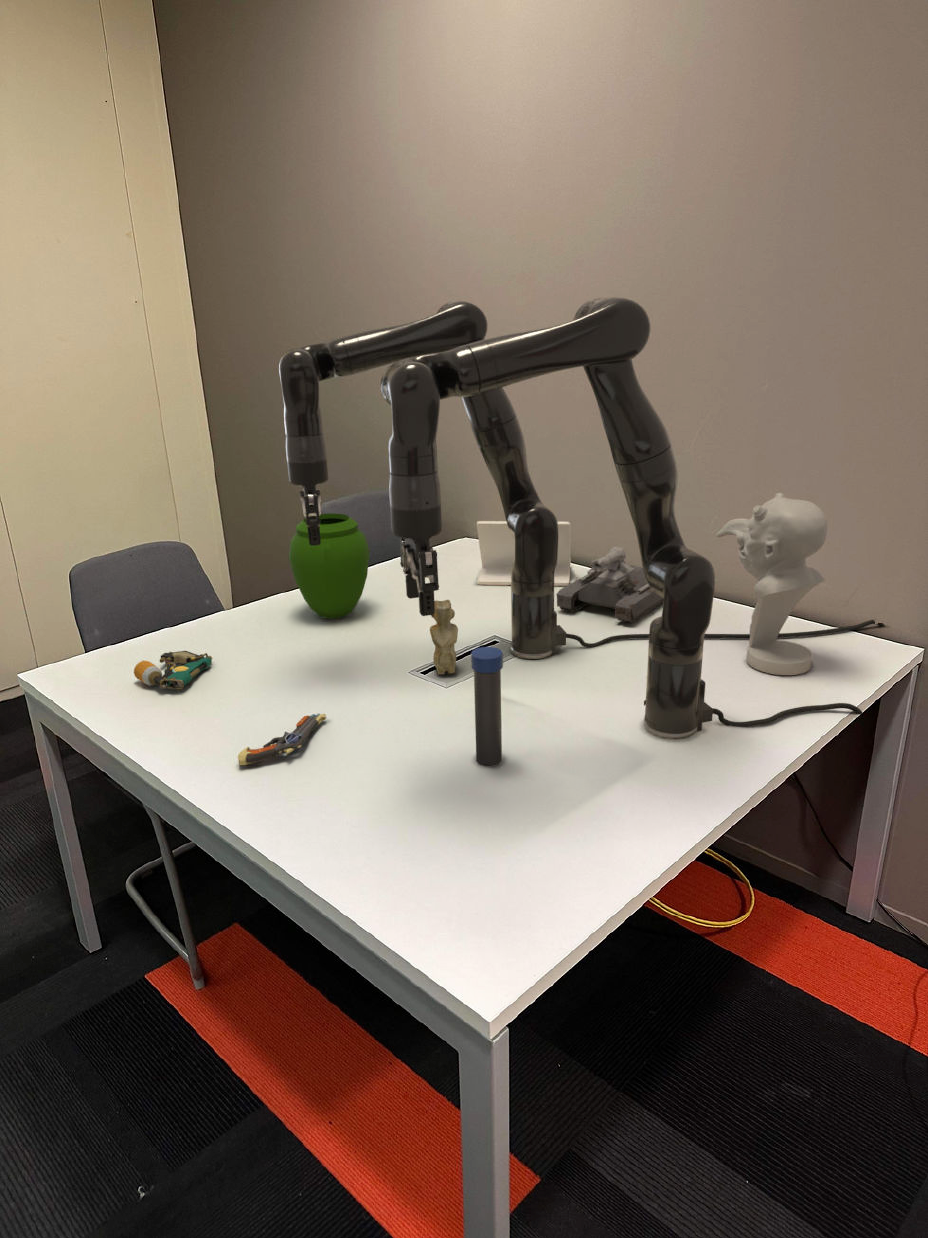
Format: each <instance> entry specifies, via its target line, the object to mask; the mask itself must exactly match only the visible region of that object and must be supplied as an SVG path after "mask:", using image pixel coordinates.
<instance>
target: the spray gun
mask: <svg viewBox="0 0 928 1238" xmlns="http://www.w3.org/2000/svg"><path fill="white" fill-rule="evenodd" d="M212 660H213V657H212V656H211V655H208V653H207V652H205V653H201V654H197V653H194V652H192V651H191V652H190V651H188V650H180V651H169V652H164V653H162V654H161V655H160V658H159V660H158V662H159V663H161V664H163V663H165V664H166V668H165V670H163V672H164V674H163V673H162V669H160V668H159V666H157V665H156V664H154V663H152V662H151V661H149V660H141V661H139V662H138V663H136V665H135V666H134V668H133V675H134V677H135V678H136V679H137V680H139V681H140V682H142V683H143V684H145V685H147V686H155V685H157V686H158V687H160V688H161V689H171V690H172V689H173V690H182V689H184V687H185V686H186V685H188V684H189V683H190V682H191V681H192V679H193V678H195V677H196V676H197V675H198V674H200V673H201V672H202V671H203V670H206V669H208V668H209V667H210V666H211V665H212V662H213V661H212ZM178 663H179V664H181V665H179V666H176V665H177V664H178Z"/></svg>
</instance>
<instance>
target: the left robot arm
mask: <svg viewBox="0 0 928 1238" xmlns="http://www.w3.org/2000/svg"><path fill="white" fill-rule="evenodd" d="M487 332H488V320H487V316H486V315H485V313H484V311H483V310H482V308H480V307H479V306H477V305H476V304H474V303H472V302H470V301H466V300H453V301H449V302H446V303H444V304H443V305H442V306H441V307H439V309H438V310H437V312H436V313H434V314H432V315H429V316H426V317H424V318H421V319H419V320H414V321H412V322H408V323H407V322H406V323H404V324H399V325H393V326H387V327H381V328H380V327H379V328H375V329H369V330H365V331H361V332H360V331H359V332H355V333H352V334H349V335H348V334H347V335H344V336H340V337H338V338H334V339H332V340H329V341H325V342H320V343H315V344H309V345H304V346H299V347H295V348H291V349H289V350H287V351H286V352H284V353H283V355H282V356H281V357H280V360H279V365H278V371H279V378H280V384H281V393H282V399H283V400H282V401H283V405H284V408H283V417H284V418H283V420H284V429H285V431H284V432H285V452H286V462H287V472H288V482H289V483H290V484H291V485H293V486H301V487H302V490H299V497H300V504H301V505H302V514H303V517H304V518H306V520H307V521H306V525H307V527H308V535H309V544H310V545H311V546H313V545H320V544H321V539H320V528H319V526H320V523H321V522H320V519H319V516H320V515H321V514H322V507H321V506H322V505H321V502H322V495H321V489H317V487H316V486H317V485H322V484H324V483H327V482H328V480H329V470H328V457H327V448H326V441H325V436H324V426H323V416H322V415H323V414H322V411H321V406H320V382H322V381H326V380H329V379H333V378H345V377H350V376H355V375H358V374H361V373H366V372H369V371H372V370H376V369H380V368H383V367H387V366H390V365H392V364H393V363H395V362H397V361H400V360H403V359H407V358H411V357H416V356H421V355H427V354H433V353H439V352H445V351H448V350H452V349H454V348H457V347H460V346H463V345H466V344H470V343H474V342H477V341H481V340H485V339H486V337H487ZM461 399H462V403H463V406H464V409H465V412H466V415H467V418H468V422H469V425H470V428H471V431H472V433H473V436H474V439H475V441H476V444H477V447H478V449H479V451H480V453H481V456H482V458H483V460H484V463H485V465H486V468H487V469H488V472H489V473H490V475H491V477H492V479H493V482H494V484H495V486H496V488H497V491H498V494H499V498H500V501H501V505H502V506H501V507H502V509H503V513H504V517H505V521H506V522H507V526H508V529H509V531H510V533H511V534H512V536H513V537H514V538H515V561H514V563H513V564H512V566H511V585H510V588H511V589H510V597H511V599H510V603H511V604H510V606H511V607H510V609H511V610H510V615H511V617H510V618H511V621H510V622H511V643H510V644H511V646H510V651H511V653H512V655H513V656H515V657H518V658H521V659H525V660H526V659H527V660H540V659H545V658H548V657H550V656H552V655H557V654H558V653H557V650H558V649H557V648H558V647H563V646H567V639H571V640H574V641H577V642H578V643H579V644H580V645H581V646H582V647H584V648H587V649H588V648H589V649H590V648H591V649H593V648H596V647H600V646H602V645H605V644H607V643H610V642H613V641H616V640H617V641H618V640H631V639H649V633H629V634H618V635H612V636H608V637H606V638H603V639H601V640H599V641H597V642H594V643H593V642H592V643H589V642H585V640H584V639H583V638H582V637H581V636H579V635H578V634H577V635H576V634H572V633H567V632H566V631H565V629H564V628H563V627H562V626H561V625H560V624H558V613H557V612H556V611H555V586H554V571H555V568H556V565H557V558H558V522H559V521H558V518H557V517H556V515H555V513H554V512H553V511H552V510H551V509H549V508H548V507H547V506H545V505H544V503H543V502H542V500H541V498H540V496H539V494H538V492H537V489H536V487H535V485H534V483H533V480H532V478H531V475H530V472H529V467H528V458H527V449H526V448H527V447H526V441H525V437H524V434H523V430H522V428H521V425H520V422H519V419H518V417H517V414H516V411H515V409H514V406H513V404H512V402H511V400H510V398H509V396H508V393H506V391H505V389H504V387H501V388H498V389H494V390H491V391H487V392H484V393H480V394H477V395H473V396H468V397H461ZM874 620H875V619H870V620H866V621H864V622H861V623H859V624H854V625H848V626H841V627H836V628H835V627H834V628H828V629H820V630H810V631H798V632H781V633H780V632H779V634H778V636H777V639H781V638H798V637H808V636H809V637H811V636H820V635H821V636H822V635H829V634H836V633H842V632H848V631H854V630H855V631H856V630H859V629H862V628H865V627H868V626H870V625H877V626H879V627H880V628H885V627H886V625H885V624H884V623H883V622H882V623H878V624H875V621H874ZM704 639H750V633H705V635H704Z"/></svg>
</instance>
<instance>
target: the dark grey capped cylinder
mask: <svg viewBox="0 0 928 1238" xmlns="http://www.w3.org/2000/svg"><path fill="white" fill-rule="evenodd" d="M501 672H502V669H501V670H499V671H497V672H493V673H480V672H476V671H474V670H473V683H474V684H473V686H474V687H473V689H474V724H475V725H474V726H475V727H474V728H475V729H474V730H475V756H476V757H475V761H476V763H477V764H478V765H480V766H482V767H489V768H490V767H491V768H492V767H495V766H499V765H500V764H501V763H502V761H503V745H502V742H503V741H502V739H503V738H502V732H503V731H502V677H501V676H502V675H501V674H502V673H501Z"/></svg>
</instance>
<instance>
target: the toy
mask: <svg viewBox="0 0 928 1238" xmlns="http://www.w3.org/2000/svg"><path fill="white" fill-rule="evenodd" d="M626 557H627V556H626V551H625V549H624V548H622V547H621V546H614V547H612V548H611V549H610V550H609V552H608V553H607V554H605V555H604V556H601V557H599V558H598V559H597V557H596V558H594V559H593V560H592V561H590V562H589V563H590V564H591V565H592V567H591V568H590V569H589V570H587V573H586V575H584V576H582V577H580V578H578V579H577V580H575V581H573V582H570V583H569V585H567V586H563V587H562V588H560V589H559V590H558V591H557V592H556V607H558V608H559V609H560V610H562V611H566V612H572V613H575V612H577V611H579V610H581V609H582V608H585V607H586V606H588V605H592V606H598V607H602V608H603V607H604V608H609V609H613V610H614V618H615V619H617V620H618V621H621V622H626V623H631V624H634V623H635V622H637V621H638V620H640V619H641V618H642V617H644V616H645V615H647V614H648V613H650V612H651V611H652V610H654V609H655V608H657V607H659V606H660V605H661V604H663V601H664V598H663V597H661V596H659V595H658V594H656V593H655V592H654V591H653V590H652V589H651V588H650V587H649V585H648V583H647V582H646V579H645V576H644V571H643V566H642V567H641V566H635V565H629V564H628V563H627V562H626V561H625V559H626Z"/></svg>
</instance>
